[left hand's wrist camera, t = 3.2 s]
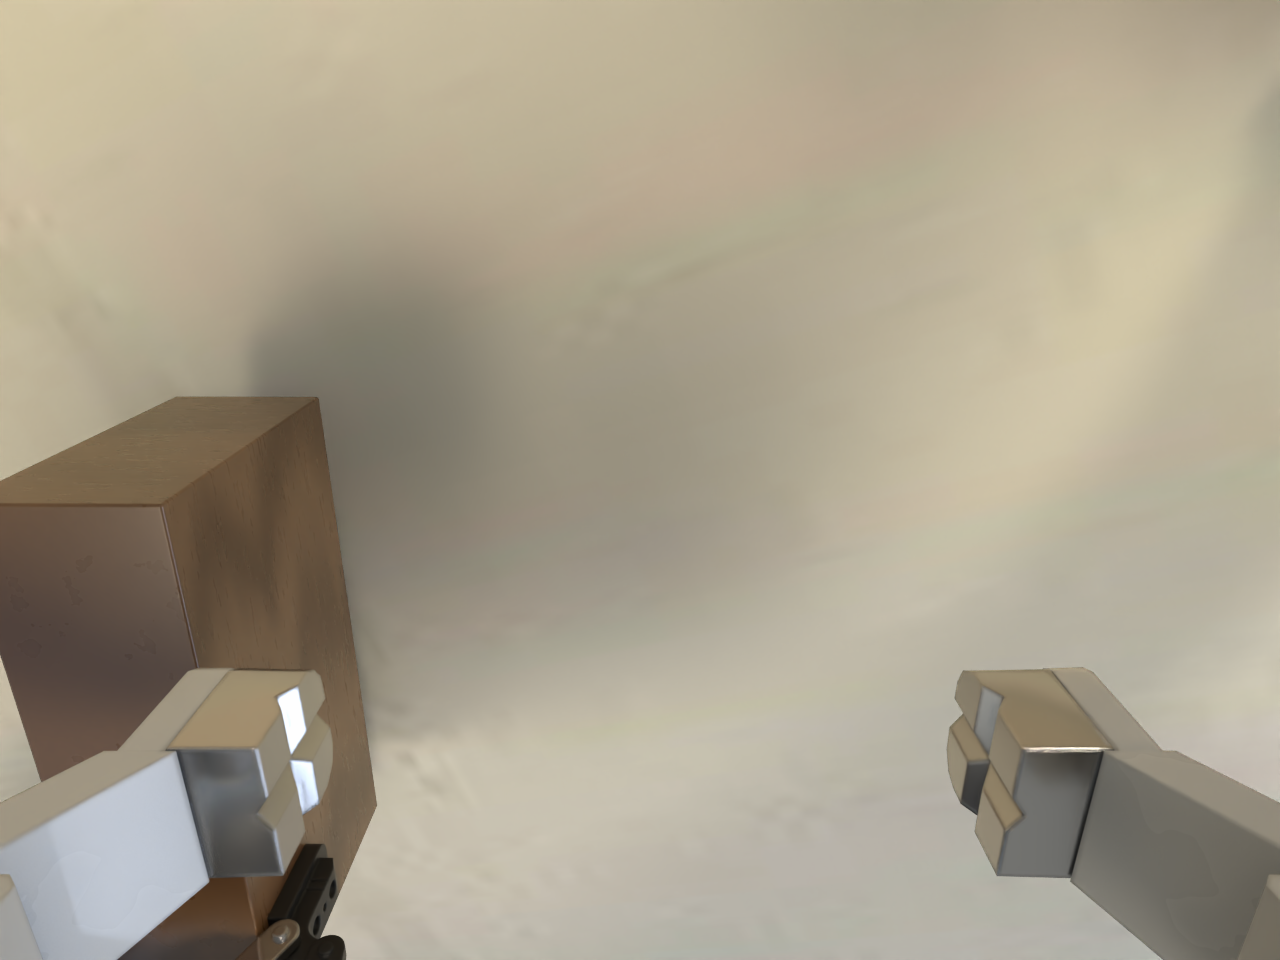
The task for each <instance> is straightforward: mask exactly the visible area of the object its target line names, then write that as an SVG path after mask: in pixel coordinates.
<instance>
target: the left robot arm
mask: <svg viewBox="0 0 1280 960" xmlns="http://www.w3.org/2000/svg"><path fill="white" fill-rule="evenodd" d="M324 700H325V694H324V689H323V684H322V680H321V676H320V675H319V674H318V673H317V672H316V671H315V670H311V669H263V668H237V669H234V668H197V669H193V670H190V671H188V672H187V673H186V674H185V675H184V676H183V677H182V678H181V679H180V681H179V682H178V683H177V684H176V685H175V686H174V687H173V688H172V690H171V691H170V692H169V693H168V694H167V695H166V696H165V697H164V699H163V700H162V701H161V702H160V703H159V704H158V705H157V706H156V708H155V709H154V710H153V711H152V712H151V713H150V714H149V715H148V717H147V718H146V719H145V720H144V721H143V722H142V723H141V724H140V726H139V727H138V728H137V729H136V730H135V731H134V732H133V733H132V735H131V736H130V737H129V738H128V739H127V740H126V741H125V742H124V744H123V745H122V746H121V747H120V748H119V749H118V750H117V751H103V752H101V753H99V754H97V755H95V756H93V757H91V758H89V759H87V760H85V761H83V762H81V763H79V764H77V765H75V766H73V767H71V768H69V769H67V770H65V771H63V772H61V773H59V774H57V775H55V776H53V777H51V778H49V779H47V780H45V781H43V782H41V783H39V784H37V785H35V786H33V787H31V788H29V789H27V790H25V791H23V792H21V793H19V794H17V795H15V796H13V797H11V798H9V799H7V800H5V801H3V802H1V803H0V960H117V959H118V958H120V957H121V956H122V955H123V954H124V953H126V952H127V951H128V950H129V949H130V948H131V947H133V946H134V945H135V944H136V943H137V942H139V941H140V940H141V939H142V938H143V937H145V936H146V935H147V934H148V933H149V932H151V931H152V930H153V929H154V928H155V927H156V926H158V925H159V924H160V923H161V922H162V921H164V920H165V919H166V918H167V917H168V916H170V915H171V914H172V913H173V912H174V911H176V910H177V909H178V908H179V907H180V906H181V905H183V904H184V903H185V902H186V901H187V900H189V899H190V898H191V897H192V896H193V895H195V894H196V893H197V892H198V891H199V890H201V889H202V888H203V887H204V886H205V885H206V884H208V883H209V878H227V877H262V876H283V875H284V873H285V871H286V869H287V867H288V865H289V863H290V861H291V859H292V857H293V855H294V853H295V851H296V849H297V847H298V845H299V843H300V841H301V839H302V837H303V835H304V834H305V826H304V821H303V815H304V814H305V813H307V812H308V811H310V810H311V809H312V808H314V807H315V806H317V805H318V804H319V803H320V801H321V799H322V797H323V795H324V792H325V790H326V788H327V786H328V782H329V777H330V773H331V768H332V764H333V741H332V734H331V728H330V726H329V725H328V724H327V723H326V722H325V721H324V720H323V719H322V718H321V717H320V716H319V715H318V714H317V712H318V710H319V708H320V707H321V705H322V703H323V701H324ZM955 700H956V701H957V703H958V705H959V707H960V708H961V710H962V712H963V714H962V715H961V716H960V717H959V718H958V719H957V720H956V721H955V722H954V723H953V724H952V725H951V726H950V728H949V736H948V743H947V759H948V771H949V775H950V778H951V782H952V785H953V788H954V791H955V793H956V795H957V797H958V799H959V801H960V803H961V804H962V805H963V806H965V807H966V808H968V809H969V810H970V811H972V812H973V813H975V814H976V815H977V821H976V826H975V834H976V836H977V838H978V839H979V841H980V843H981V845H982V847H983V849H984V851H985V853H986V855H987V857H988V859H989V861H990V863H991V865H992V867H993V869H994V871H995V873H996V875H997V876H1016V877H1052V878H1071V881H1070V882H1072V883H1073V884H1074V885H1075V886H1076V887H1077V888H1079V889H1080V890H1081V891H1082V892H1083V893H1085V894H1086V895H1087V896H1088V897H1089V898H1091V899H1092V900H1093V901H1094V902H1095V903H1096V904H1098V905H1099V906H1100V907H1101V908H1102V909H1104V910H1105V911H1106V912H1107V913H1108V914H1110V915H1111V916H1112V917H1113V918H1114V919H1115V920H1117V921H1118V922H1119V923H1120V924H1121V925H1123V926H1124V927H1125V928H1126V929H1127V930H1129V931H1130V932H1131V933H1132V934H1133V935H1134V936H1136V937H1137V938H1138V939H1139V940H1140V941H1142V942H1143V943H1144V944H1145V945H1146V946H1148V947H1149V948H1150V949H1151V950H1152V951H1153V952H1155V953H1156V954H1157V955H1158V956H1159V957H1161V958H1162V959H1163V960H1280V803H1279V802H1277V801H1275V800H1273V799H1271V798H1269V797H1267V796H1265V795H1263V794H1261V793H1259V792H1257V791H1255V790H1253V789H1251V788H1249V787H1247V786H1245V785H1243V784H1241V783H1239V782H1237V781H1235V780H1233V779H1231V778H1229V777H1227V776H1225V775H1223V774H1221V773H1219V772H1217V771H1215V770H1213V769H1211V768H1209V767H1207V766H1205V765H1203V764H1201V763H1199V762H1197V761H1195V760H1193V759H1191V758H1189V757H1187V756H1185V755H1183V754H1181V753H1179V752H1177V751H1163V750H1162V749H1161V748H1160V747H1159V746H1158V745H1157V744H1156V742H1155V741H1154V740H1153V739H1152V738H1151V737H1150V736H1149V735H1148V733H1147V732H1146V731H1145V730H1144V729H1143V728H1142V727H1141V726H1140V724H1139V723H1138V722H1137V721H1136V720H1135V719H1134V718H1133V717H1132V715H1131V714H1130V713H1129V712H1128V711H1127V710H1126V709H1125V708H1124V706H1123V705H1122V704H1121V703H1120V702H1119V701H1118V700H1117V699H1116V697H1115V696H1114V695H1113V694H1112V693H1111V692H1110V691H1109V690H1108V688H1107V687H1106V686H1105V685H1104V684H1103V683H1102V682H1101V681H1100V679H1099V678H1098V677H1097V676H1096V675H1095V674H1094V673H1093V672H1092V671H1090V670H1088V669H1085V668H1083V667H1075V668H1045V669H1037V670H971V671H963V672H962V674H961V676H960V678H959V680H958V682H957V688H956V693H955Z"/></svg>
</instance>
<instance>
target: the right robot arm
mask: <svg viewBox="0 0 1280 960" xmlns="http://www.w3.org/2000/svg"><path fill="white" fill-rule="evenodd" d="M337 897H338V884H337V878H336V872H335V866H334V861H333V858H328V855H327V849H326V845H325V844H305V845H304V847H303V849H302V851H301V853H300V855H299V857H298V859H297V860H296V862H295V864H294V866H293V868H292V870H291V872H290V874H289V876H288V878H287V880H286V882H285V884H284V886H283V888H282V890H281V892H280V894H279V896H278V898H277V900H276V902H275V903H274V905H273V907H272V909H271V911H270V913H269V915H268V917H267V920H268V925H269V927H268V928H267V929H266V930H265V931H264V932H263V933H262V934H261V935H260V936H259V937H258V938H257V939H256V940H255V941H254V942H253V943H252V944H250V945H249V946H248V947H247V948H246V949H245V950H244V951H243V952H242V953H241V954H240V955H239V956H238V957H237V958H236V959H235V960H346V950H345V944H344V941H343V939H342V938H341V937H339V936H336V935H328V936H324V937H322V938H320V937H321V935H322V932H323V930H324V928H325V925H326V923H327V921H328V917H329V916H330V914H331V911H332V908H333V907H334V904H335V902H336V900H337Z"/></svg>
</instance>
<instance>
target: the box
mask: <svg viewBox="0 0 1280 960" xmlns="http://www.w3.org/2000/svg"><path fill="white" fill-rule="evenodd" d="M0 655H1V658H2V662H3V665H4V668H5V671H6V674H7V677H8V680H9V683H10V686H11V689H12V693H13V696H14V699H15V702H16V705H17V708H18V711H19V714H20V717H21V720H22V724H23V727H24V730H25V733H26V736H27V739H28V742H29V745H30V748H31V751H32V755H33V758H34V761H35V764H36V767H37V770H38V773H39V776H40V779H41V782H43V781H45V780H47V779H49V778H51V777H53V776H55V775H57V774H59V773H61V772H63V771H65V770H67V769H69V768H71V767H73V766H75V765H77V764H79V763H81V762H83V761H85V760H87V759H89V758H91V757H93V756H95V755H97V754H99V753H101V752H103V751H117V750H118V749H119V748H120V747H121V746H122V745H123V744H124V742H125V741H126V740H127V739H128V738H129V737H130V736H131V735H132V733H133V732H134V731H135V730H136V729H137V728H138V727H139V726H140V724H141V723H142V722H143V721H144V720H145V719H146V718H147V717H148V715H149V714H150V713H151V712H152V711H153V710H154V709H155V708H156V706H157V705H158V704H159V703H160V702H161V701H162V700H163V699H164V697H165V696H166V695H167V694H168V693H169V692H170V691H171V690H172V688H173V687H174V686H175V685H176V684H177V683H178V682H179V681H180V679H181V678H182V677H183V676H184V675H185V674H186V673H187V672H188V671H190V670H193V669H197V668H234V669H237V668H263V669H311V670H315V671H316V672H317V673H318V674H319V675H320V676H321V680H322V684H323V689H324V694H325V700H324V701H323V703H322V705H321V707H320V708H319V710H318V712H317V714H318V715H319V716H320V717H321V718H322V719H323V720H324V721H325V722H326V723H327V724H328V725H329V726H330V728H331V734H332V741H333V764H332V768H331V773H330V777H329V782H328V786H327V788H326V790H325V792H324V795H323V797H322V799H321V801H320V803H319V804H318V805H317V806H315V807H314V808H312V809H311V810H310V811H308V812H307V813H305V814H304V815H303V821H304V826H305V834H304V835H303V837H302V839H301V841H300V843H299V845H298V847H297V849H296V851H295V853H294V855H293V857H292V859H291V861H290V863H289V865H288V867H287V869H286V871H285V873H284V875H283V876H262V877H227V878H209V883H208V884H206V885H205V886H204V887H203V888H202V889H201V890H199V891H198V892H197V893H196V894H195V895H193V896H192V897H191V898H190V899H189V900H187V901H186V902H185V903H184V904H183V905H181V906H180V907H179V908H178V909H177V910H176V911H174V912H173V913H172V914H171V915H170V916H168V917H167V918H166V919H165V920H164V921H162V922H161V923H160V924H159V925H158V926H156V927H155V928H154V929H153V930H152V931H151V932H149V933H148V934H147V935H146V936H145V937H143V938H142V939H141V940H140V941H139V942H137V943H136V944H135V945H134V946H133V947H131V948H130V949H129V950H128V951H127V952H126V953H124V954H123V955H122V956H121V957H120V958H118V959H117V960H235V959H236V958H237V957H238V956H239V955H240V954H241V953H242V952H243V951H244V950H245V949H246V948H247V947H248V946H249V945H250V944H252V943H253V942H254V941H255V940H256V939H257V938H258V937H259V936H260V935H261V934H262V933H263V932H264V931H265V930H266V929H267V928H268V927H269V925H268V920H267V917H268V915H269V913H270V911H271V909H272V907H273V905H274V903H275V902H276V900H277V898H278V896H279V894H280V892H281V890H282V888H283V886H284V884H285V882H286V880H287V878H288V876H289V874H290V872H291V870H292V868H293V866H294V864H295V862H296V860H297V859H298V857H299V855H300V853H301V851H302V849H303V847H304V845H305V844H325V845H326V849H327V855H328V858H333V861H334V866H335V872H336V878H337V884H338V895H339V893H340V890H341V888H342V886H343V883H344V881H345V879H346V876H347V874H348V872H349V869H350V867H351V865H352V862H353V860H354V858H355V856H356V853H357V851H358V849H359V846H360V844H361V842H362V839H363V837H364V835H365V832H366V830H367V828H368V825H369V823H370V821H371V818H372V816H373V814H374V811H375V809H376V807H377V802H376V795H375V788H374V781H373V774H372V767H371V760H370V753H369V746H368V739H367V733H366V726H365V719H364V712H363V705H362V698H361V691H360V684H359V677H358V670H357V663H356V656H355V649H354V642H353V635H352V628H351V621H350V614H349V607H348V600H347V593H346V586H345V579H344V572H343V565H342V558H341V551H340V544H339V538H338V531H337V524H336V517H335V510H334V503H333V496H332V489H331V482H330V475H329V468H328V461H327V454H326V447H325V440H324V433H323V426H322V419H321V412H320V405H319V399H318V398H317V397H175V398H173V399H171V400H168V401H166V402H164V403H162V404H160V405H158V406H156V407H154V408H152V409H150V410H148V411H146V412H143V413H141V414H139V415H137V416H135V417H133V418H131V419H129V420H127V421H125V422H123V423H120V424H118V425H116V426H114V427H112V428H110V429H108V430H106V431H104V432H102V433H100V434H98V435H95V436H93V437H91V438H89V439H87V440H85V441H83V442H81V443H79V444H77V445H75V446H72V447H70V448H68V449H66V450H64V451H62V452H60V453H58V454H56V455H54V456H52V457H50V458H47V459H45V460H43V461H41V462H39V463H37V464H35V465H33V466H31V467H29V468H27V469H25V470H22V471H20V472H18V473H16V474H14V475H12V476H10V477H8V478H6V479H4V480H2V481H0ZM332 909H333V908H332ZM328 918H329V917H328Z"/></svg>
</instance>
